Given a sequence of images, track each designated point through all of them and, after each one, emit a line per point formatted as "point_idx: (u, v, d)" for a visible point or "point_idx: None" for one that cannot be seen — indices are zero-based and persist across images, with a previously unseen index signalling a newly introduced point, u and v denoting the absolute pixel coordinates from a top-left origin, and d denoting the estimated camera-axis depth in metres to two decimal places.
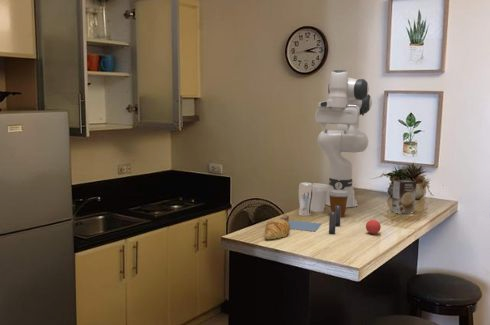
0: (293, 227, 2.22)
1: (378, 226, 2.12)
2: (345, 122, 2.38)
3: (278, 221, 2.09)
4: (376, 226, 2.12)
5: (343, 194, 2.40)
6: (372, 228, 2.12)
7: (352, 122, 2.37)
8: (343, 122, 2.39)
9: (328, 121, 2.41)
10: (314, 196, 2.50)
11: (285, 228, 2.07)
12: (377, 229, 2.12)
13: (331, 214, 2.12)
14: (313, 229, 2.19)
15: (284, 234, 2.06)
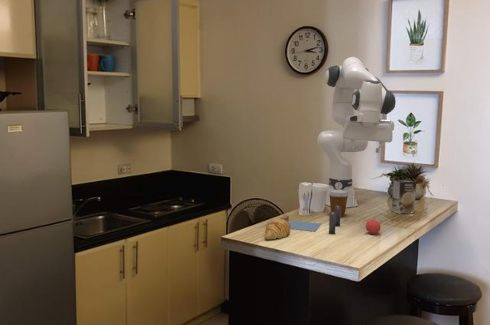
0: (293, 227, 2.22)
1: (378, 226, 2.12)
2: (377, 139, 2.12)
3: (278, 221, 2.09)
4: (376, 226, 2.12)
5: (343, 194, 2.40)
6: (372, 228, 2.12)
7: (385, 139, 2.11)
8: (375, 139, 2.13)
9: (358, 137, 2.15)
10: (314, 196, 2.50)
11: (285, 228, 2.07)
12: (377, 229, 2.12)
13: (331, 214, 2.12)
14: (313, 229, 2.19)
15: (284, 234, 2.06)
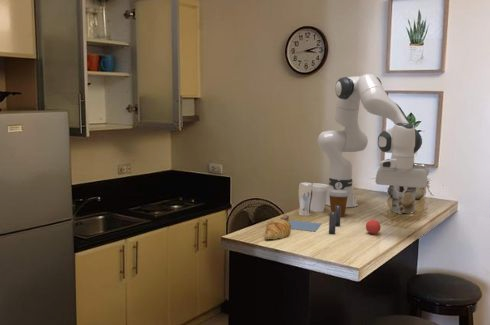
0: (293, 227, 2.22)
1: (378, 226, 2.12)
2: (412, 185, 2.06)
3: (279, 221, 2.09)
4: (376, 226, 2.12)
5: (343, 194, 2.40)
6: (372, 228, 2.12)
7: (420, 185, 2.05)
8: (410, 185, 2.06)
9: (392, 183, 2.08)
10: (314, 196, 2.50)
11: (285, 228, 2.07)
12: (377, 229, 2.12)
13: (331, 214, 2.12)
14: (313, 229, 2.19)
15: (284, 234, 2.06)
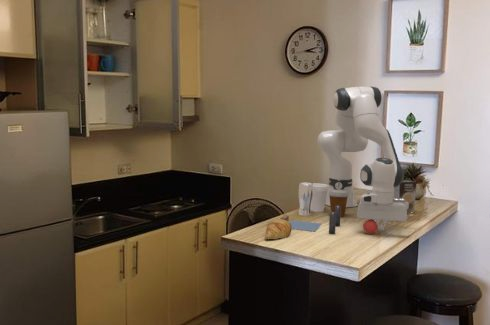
0: (293, 227, 2.22)
1: (374, 225, 2.12)
2: (392, 219, 2.10)
3: (279, 221, 2.09)
4: (372, 225, 2.12)
5: (343, 194, 2.40)
6: (369, 228, 2.12)
7: (400, 219, 2.09)
8: (390, 219, 2.11)
9: (373, 217, 2.13)
10: (314, 196, 2.50)
11: (286, 228, 2.07)
12: (374, 228, 2.12)
13: (331, 214, 2.12)
14: (313, 229, 2.19)
15: (285, 234, 2.06)
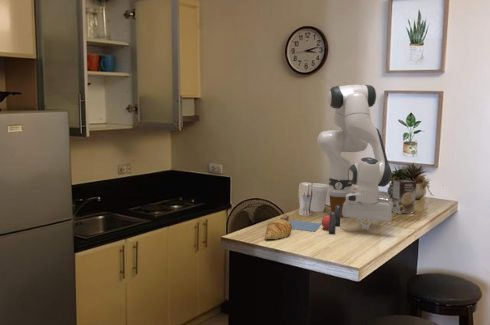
0: (293, 227, 2.22)
1: None
2: (377, 218, 2.12)
3: (279, 221, 2.09)
4: None
5: (343, 194, 2.40)
6: (327, 223, 2.18)
7: (384, 218, 2.11)
8: (374, 218, 2.12)
9: (357, 216, 2.15)
10: (314, 196, 2.50)
11: (286, 229, 2.07)
12: None
13: (331, 214, 2.12)
14: (313, 229, 2.19)
15: (285, 235, 2.06)
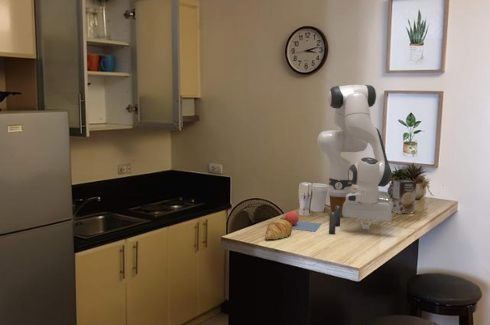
0: (293, 227, 2.22)
1: (292, 224, 2.24)
2: (377, 218, 2.12)
3: (279, 221, 2.08)
4: (292, 223, 2.23)
5: (343, 194, 2.40)
6: (290, 219, 2.23)
7: (384, 218, 2.11)
8: (374, 218, 2.12)
9: (357, 216, 2.15)
10: (314, 196, 2.50)
11: (286, 229, 2.07)
12: None
13: (331, 214, 2.12)
14: (313, 229, 2.19)
15: (285, 235, 2.06)
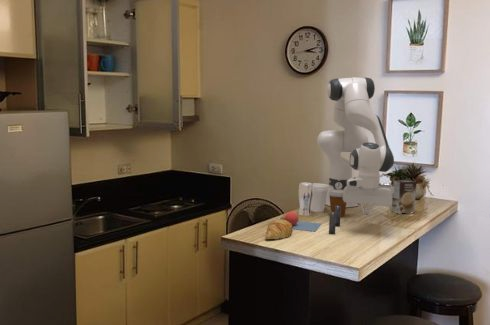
0: (293, 227, 2.22)
1: (292, 224, 2.24)
2: (378, 203, 2.12)
3: (280, 222, 2.08)
4: (292, 223, 2.23)
5: None
6: (290, 219, 2.23)
7: (385, 203, 2.11)
8: (375, 203, 2.12)
9: (358, 201, 2.14)
10: (314, 196, 2.50)
11: (286, 229, 2.06)
12: None
13: (331, 214, 2.12)
14: (313, 229, 2.19)
15: (285, 235, 2.06)
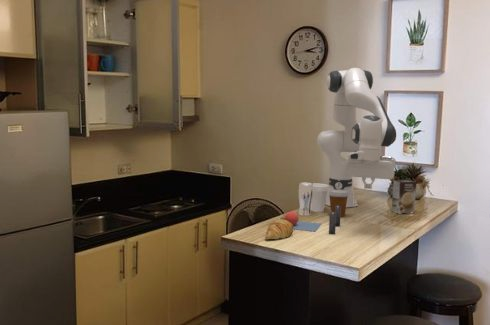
0: None
1: None
2: (379, 176, 2.10)
3: (280, 221, 2.08)
4: None
5: (343, 194, 2.40)
6: (290, 219, 2.23)
7: (387, 176, 2.08)
8: (377, 176, 2.10)
9: (359, 175, 2.12)
10: (314, 196, 2.50)
11: (287, 229, 2.06)
12: None
13: (331, 214, 2.12)
14: (313, 229, 2.19)
15: (285, 235, 2.06)
